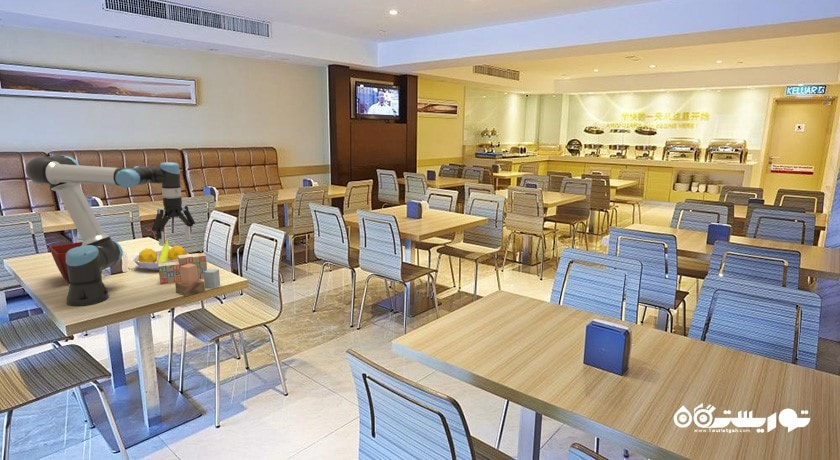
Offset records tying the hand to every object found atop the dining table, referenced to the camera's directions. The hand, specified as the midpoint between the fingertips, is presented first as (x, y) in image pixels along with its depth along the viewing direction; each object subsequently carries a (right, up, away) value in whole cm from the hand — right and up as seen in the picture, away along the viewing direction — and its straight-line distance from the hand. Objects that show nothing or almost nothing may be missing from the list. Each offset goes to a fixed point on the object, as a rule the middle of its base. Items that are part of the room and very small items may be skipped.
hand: (175, 242), depth 216 cm
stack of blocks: (-6, -20, +20) cm, 29 cm away
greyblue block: (+12, -22, +11) cm, 27 cm away
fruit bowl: (-29, -14, +43) cm, 53 cm away
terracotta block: (+6, -18, +2) cm, 19 cm away
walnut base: (+5, -23, +3) cm, 24 cm away
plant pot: (-57, -19, +19) cm, 63 cm away
